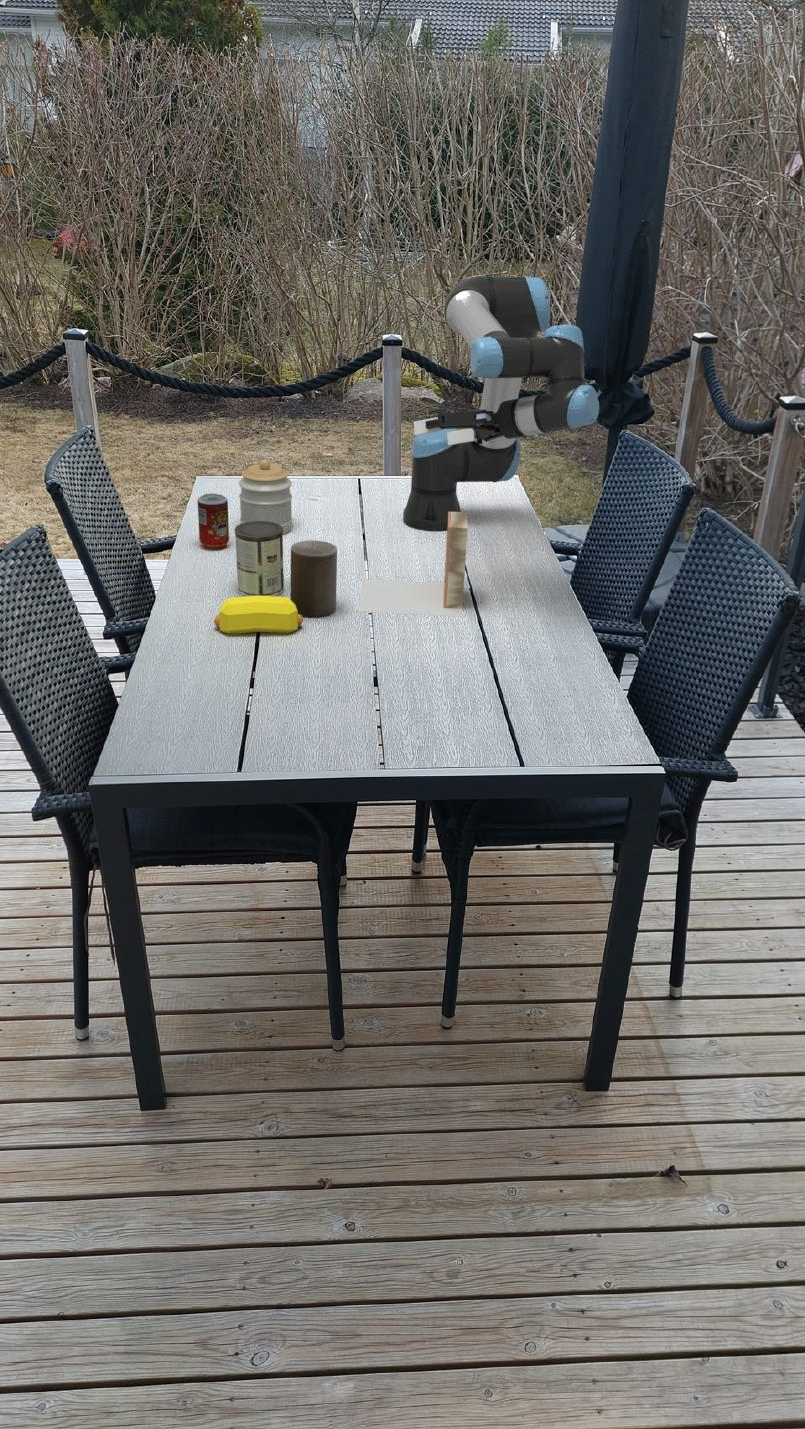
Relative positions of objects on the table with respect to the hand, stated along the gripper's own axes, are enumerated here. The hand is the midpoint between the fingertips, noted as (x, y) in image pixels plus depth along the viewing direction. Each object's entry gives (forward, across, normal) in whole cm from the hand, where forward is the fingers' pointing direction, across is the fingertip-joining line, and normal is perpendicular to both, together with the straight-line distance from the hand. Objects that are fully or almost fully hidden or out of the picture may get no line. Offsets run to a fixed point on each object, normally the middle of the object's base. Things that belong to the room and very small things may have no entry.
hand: (431, 434), depth 235 cm
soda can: (+60, -2, -18) cm, 63 cm away
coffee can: (+37, -14, -31) cm, 50 cm away
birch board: (0, +6, -35) cm, 35 cm away
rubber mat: (+8, +1, -35) cm, 36 cm away
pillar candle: (+22, -15, -36) cm, 45 cm away
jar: (+58, +14, -13) cm, 61 cm away
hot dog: (+26, -28, -40) cm, 56 cm away
